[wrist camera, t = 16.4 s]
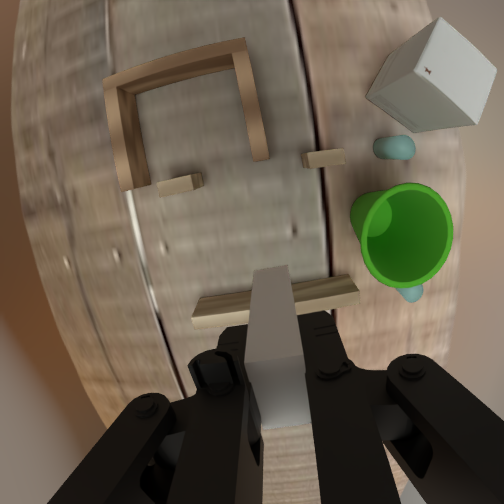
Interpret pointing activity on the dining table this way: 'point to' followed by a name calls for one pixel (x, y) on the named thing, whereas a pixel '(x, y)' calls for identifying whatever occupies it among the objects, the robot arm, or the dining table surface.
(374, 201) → the cup
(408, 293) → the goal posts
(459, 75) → the supplement box
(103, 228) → the dining table surface
